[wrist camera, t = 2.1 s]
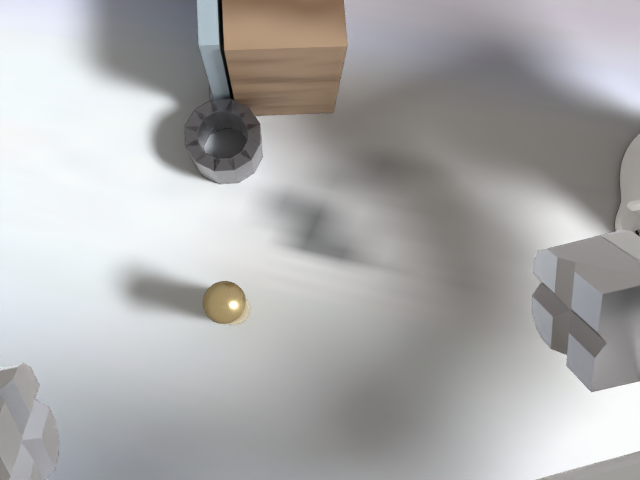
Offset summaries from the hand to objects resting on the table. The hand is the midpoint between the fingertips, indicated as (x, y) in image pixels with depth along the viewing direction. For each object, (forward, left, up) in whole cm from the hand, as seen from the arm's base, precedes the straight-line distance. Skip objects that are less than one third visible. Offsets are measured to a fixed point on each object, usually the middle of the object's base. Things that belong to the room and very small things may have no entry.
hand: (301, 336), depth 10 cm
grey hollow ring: (+21, -6, -49) cm, 53 cm away
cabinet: (+29, -18, -49) cm, 59 cm away
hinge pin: (+5, +2, -49) cm, 49 cm away
